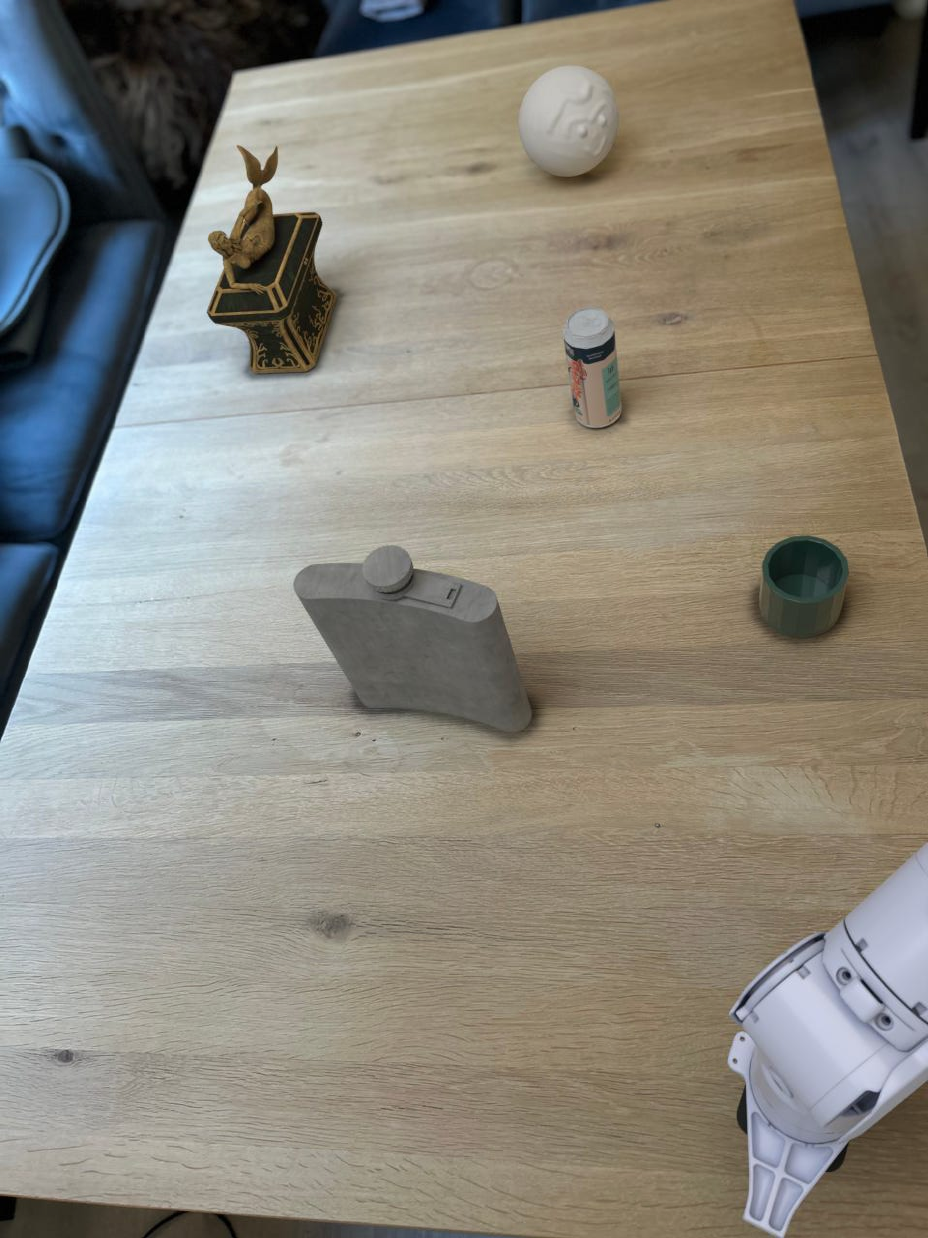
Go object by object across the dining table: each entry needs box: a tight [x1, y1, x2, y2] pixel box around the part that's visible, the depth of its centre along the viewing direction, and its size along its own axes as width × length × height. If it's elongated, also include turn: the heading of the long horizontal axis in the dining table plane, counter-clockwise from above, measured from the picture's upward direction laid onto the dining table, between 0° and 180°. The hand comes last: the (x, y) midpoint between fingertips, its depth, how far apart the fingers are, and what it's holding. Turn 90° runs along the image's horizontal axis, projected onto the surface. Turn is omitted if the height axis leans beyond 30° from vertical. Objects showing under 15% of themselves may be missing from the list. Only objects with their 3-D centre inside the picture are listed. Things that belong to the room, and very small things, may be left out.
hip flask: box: [292, 544, 533, 734], centre depth 78 cm, size 16×4×20 cm, turn 74°
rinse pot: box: [758, 535, 850, 639], centre depth 82 cm, size 7×7×6 cm
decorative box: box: [206, 144, 338, 374], centre depth 110 cm, size 20×10×20 cm, turn 171°
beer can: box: [562, 306, 623, 429], centre depth 96 cm, size 5×5×12 cm
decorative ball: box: [518, 64, 620, 178], centre depth 119 cm, size 12×12×12 cm
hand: (794, 1104), depth 59 cm, fingers closed
